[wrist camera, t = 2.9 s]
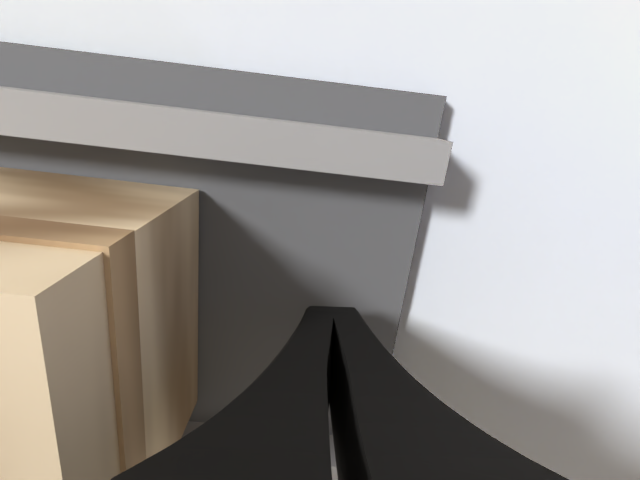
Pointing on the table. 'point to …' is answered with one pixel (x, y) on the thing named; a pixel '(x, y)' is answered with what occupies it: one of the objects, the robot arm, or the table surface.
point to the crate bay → (244, 186)
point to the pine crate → (94, 323)
